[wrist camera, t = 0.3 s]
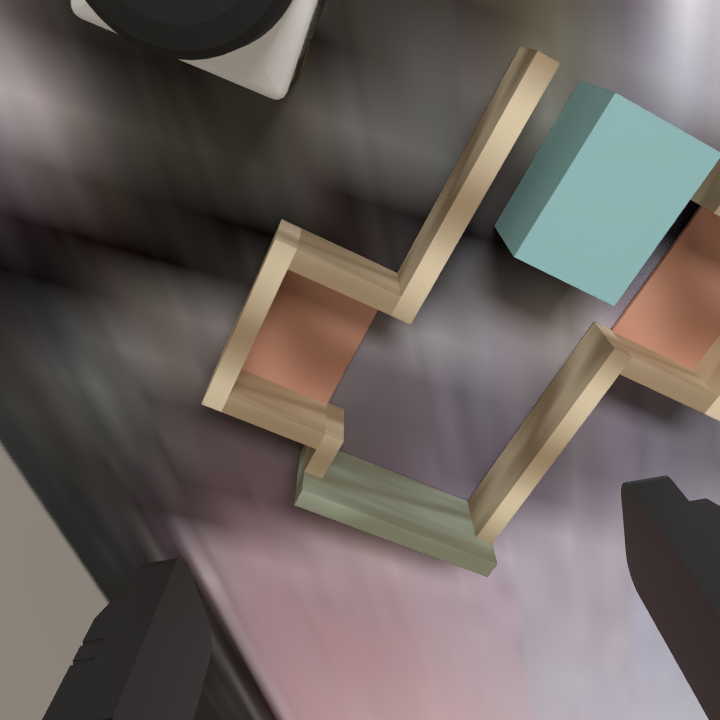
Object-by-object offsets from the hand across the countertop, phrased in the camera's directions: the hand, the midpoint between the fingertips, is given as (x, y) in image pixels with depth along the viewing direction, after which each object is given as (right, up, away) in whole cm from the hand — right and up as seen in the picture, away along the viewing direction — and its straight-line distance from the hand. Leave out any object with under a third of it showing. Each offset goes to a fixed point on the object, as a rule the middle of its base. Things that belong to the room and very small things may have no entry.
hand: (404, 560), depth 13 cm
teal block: (+9, +12, +19) cm, 24 cm away
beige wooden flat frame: (+6, +6, +22) cm, 23 cm away
